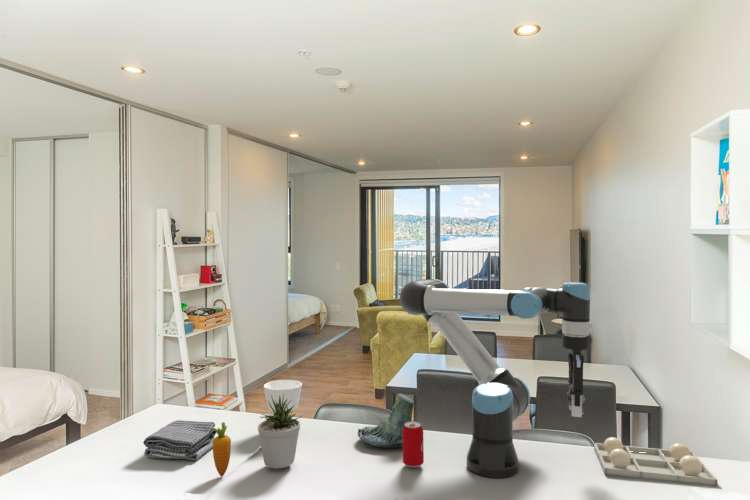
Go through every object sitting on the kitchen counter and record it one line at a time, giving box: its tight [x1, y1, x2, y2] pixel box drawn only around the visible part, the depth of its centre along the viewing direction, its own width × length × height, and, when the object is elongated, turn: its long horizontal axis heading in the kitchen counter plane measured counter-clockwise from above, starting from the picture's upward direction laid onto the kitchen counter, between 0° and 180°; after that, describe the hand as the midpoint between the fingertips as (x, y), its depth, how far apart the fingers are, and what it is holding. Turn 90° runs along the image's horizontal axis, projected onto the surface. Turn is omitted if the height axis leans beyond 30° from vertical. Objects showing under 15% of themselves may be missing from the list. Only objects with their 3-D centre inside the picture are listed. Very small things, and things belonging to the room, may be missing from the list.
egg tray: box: [593, 442, 718, 487], centre depth 145 cm, size 28×19×2 cm
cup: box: [263, 379, 303, 416], centre depth 177 cm, size 14×14×16 cm
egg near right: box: [679, 455, 702, 476], centre depth 138 cm, size 5×5×5 cm
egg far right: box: [668, 442, 691, 462], centre depth 147 cm, size 5×5×5 cm
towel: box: [142, 419, 217, 461], centre depth 158 cm, size 15×18×8 cm
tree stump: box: [357, 393, 415, 449], centre depth 168 cm, size 18×20×18 cm
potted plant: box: [257, 393, 304, 469], centre depth 149 cm, size 13×14×20 cm
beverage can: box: [402, 420, 425, 468], centre depth 147 cm, size 6×6×12 cm
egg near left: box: [610, 449, 630, 469], centre depth 143 cm, size 5×5×5 cm
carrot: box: [212, 421, 232, 478], centre depth 140 cm, size 5×5×15 cm
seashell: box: [566, 384, 586, 415], centre depth 146 cm, size 5×5×10 cm
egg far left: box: [603, 436, 624, 454], centre depth 152 cm, size 5×5×5 cm
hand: (575, 412), depth 146 cm, fingers closed on seashell, 5 cm apart
